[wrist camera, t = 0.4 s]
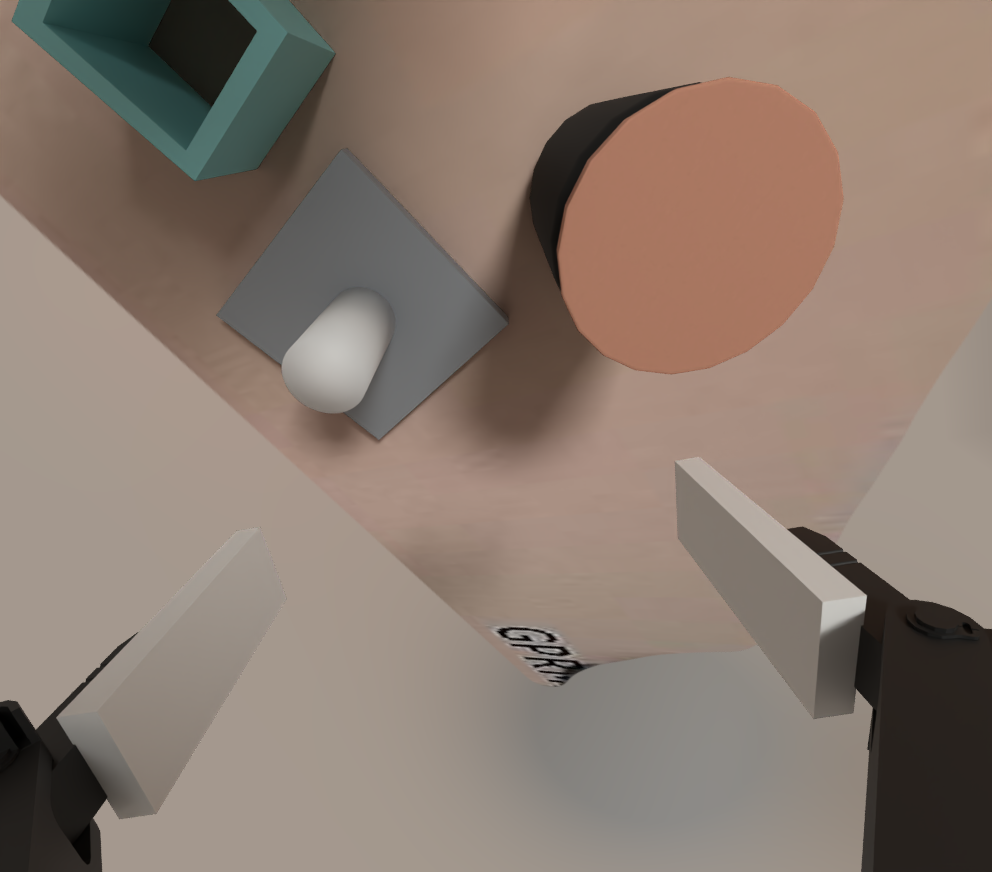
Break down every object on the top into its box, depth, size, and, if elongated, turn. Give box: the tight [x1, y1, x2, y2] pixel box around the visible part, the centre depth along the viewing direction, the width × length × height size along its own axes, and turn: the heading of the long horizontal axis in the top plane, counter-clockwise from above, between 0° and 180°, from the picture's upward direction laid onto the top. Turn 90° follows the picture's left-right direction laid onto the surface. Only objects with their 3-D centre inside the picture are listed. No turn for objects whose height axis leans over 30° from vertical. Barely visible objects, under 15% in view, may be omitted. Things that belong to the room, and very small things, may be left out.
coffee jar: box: [530, 77, 844, 374], centre depth 25 cm, size 11×11×18 cm
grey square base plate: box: [216, 148, 509, 439], centre depth 33 cm, size 16×16×12 cm
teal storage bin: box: [12, 0, 336, 181], centre depth 25 cm, size 9×9×8 cm
